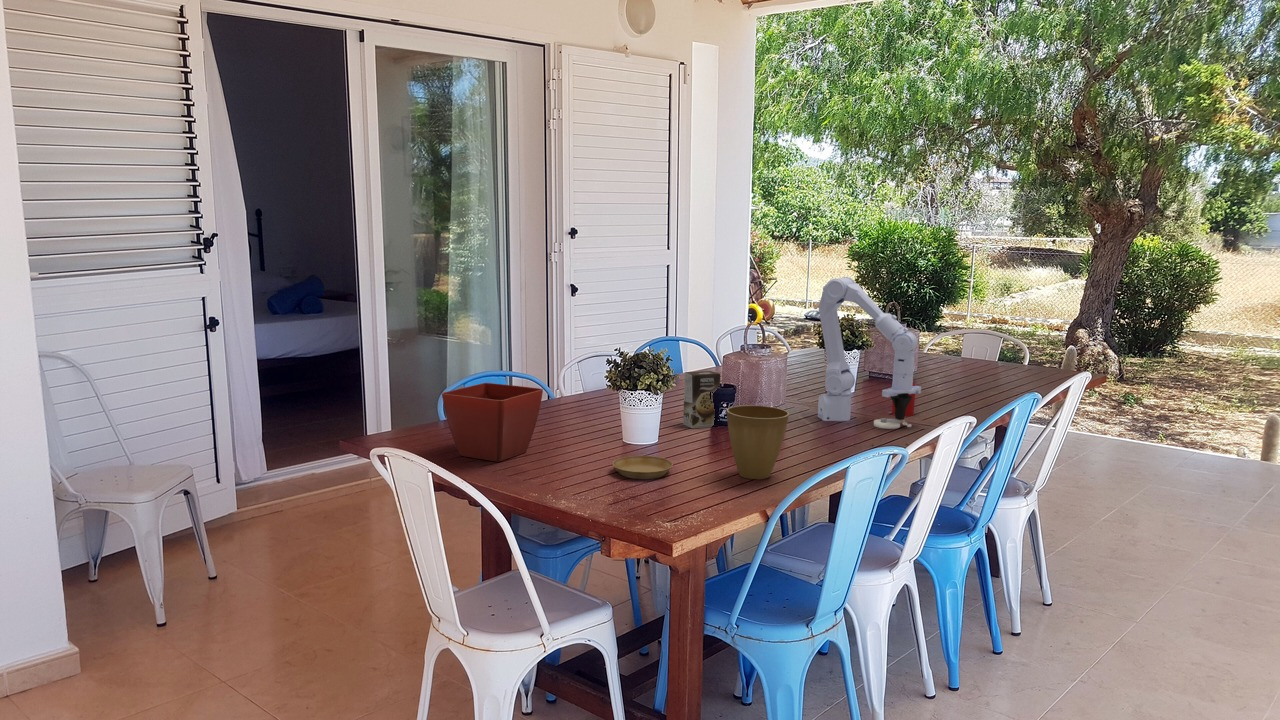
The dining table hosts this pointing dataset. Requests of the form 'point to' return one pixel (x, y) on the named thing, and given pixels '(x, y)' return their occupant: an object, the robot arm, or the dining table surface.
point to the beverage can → (909, 408)
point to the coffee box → (700, 398)
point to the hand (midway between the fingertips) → (899, 419)
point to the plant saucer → (642, 466)
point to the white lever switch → (888, 423)
